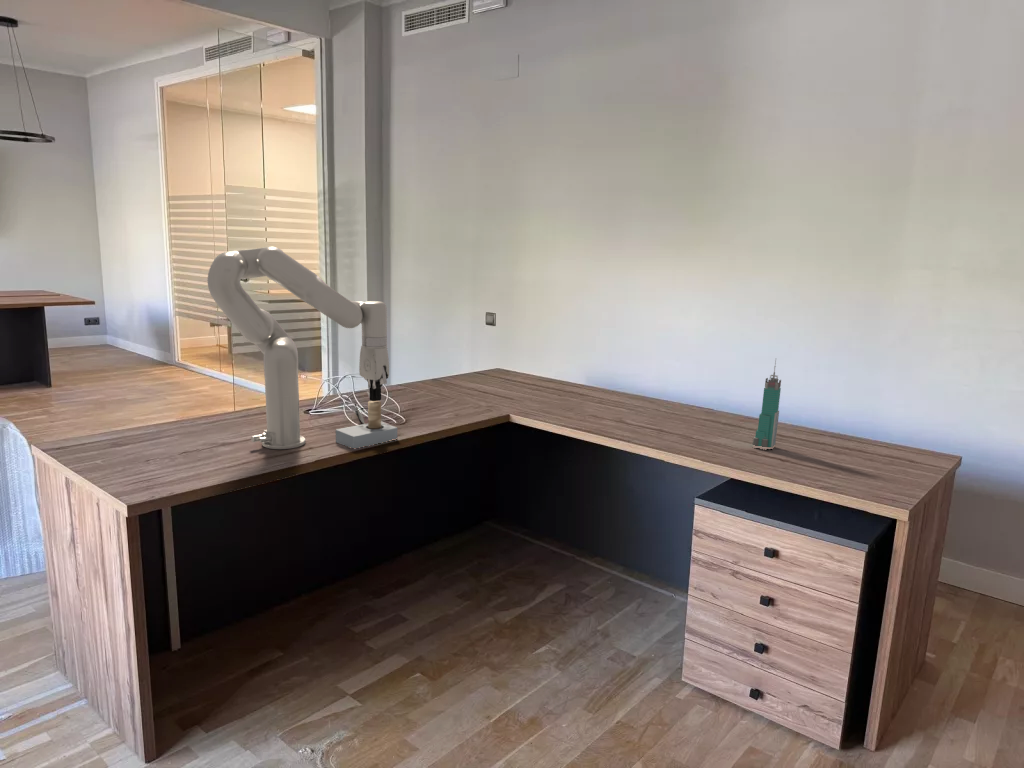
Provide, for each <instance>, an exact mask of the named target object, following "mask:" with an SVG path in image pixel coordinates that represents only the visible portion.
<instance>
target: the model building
mask: <svg viewBox="0 0 1024 768" xmlns="http://www.w3.org/2000/svg"><path fill="white" fill-rule="evenodd" d="M366 394H367V395H368V398H369V401H371V400H370V391H366ZM356 404H357V403H354V407H355V409H356V411H357V415H358V419H359V421H360V422H361V423H362V424H366V422H365V418H364V416H363V415H364V414H363V413H362V412H361V413H362V414H361V413H360V412H359V410H358V408H357V407H356Z"/></svg>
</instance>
